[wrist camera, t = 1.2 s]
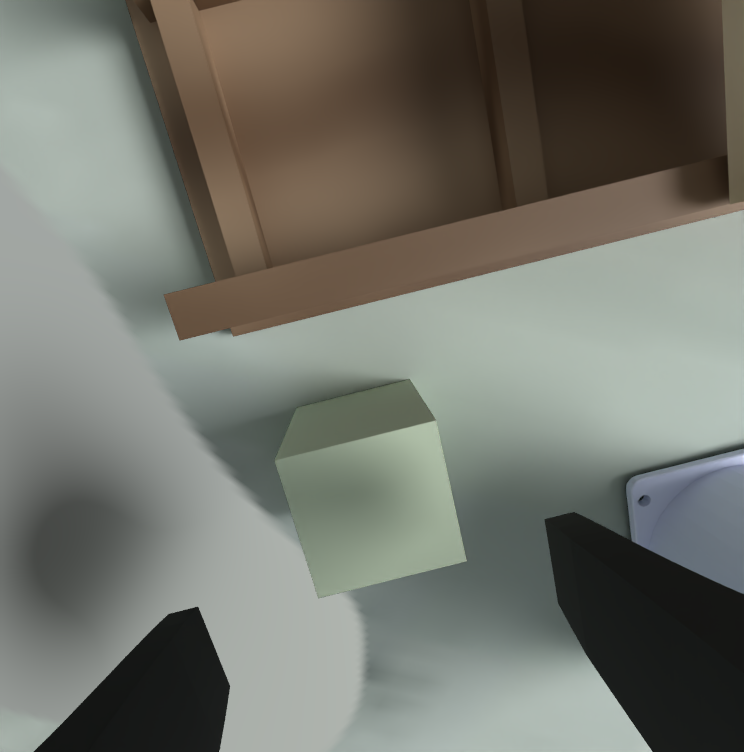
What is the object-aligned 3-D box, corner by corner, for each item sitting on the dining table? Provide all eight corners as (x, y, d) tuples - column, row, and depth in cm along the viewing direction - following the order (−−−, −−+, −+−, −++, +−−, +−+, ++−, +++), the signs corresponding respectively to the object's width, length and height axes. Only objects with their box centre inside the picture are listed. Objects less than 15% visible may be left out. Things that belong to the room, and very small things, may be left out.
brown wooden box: (884, 173, 15) (1245, 99, 9) (238, 333, 15) (165, 368, 9) (900, -203, 13) (1409, -651, 7) (128, -13, 13) (-75, -289, 7)
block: (433, 482, 17) (466, 561, 12) (327, 508, 17) (318, 598, 12) (409, 379, 16) (436, 420, 11) (296, 406, 16) (274, 460, 11)
